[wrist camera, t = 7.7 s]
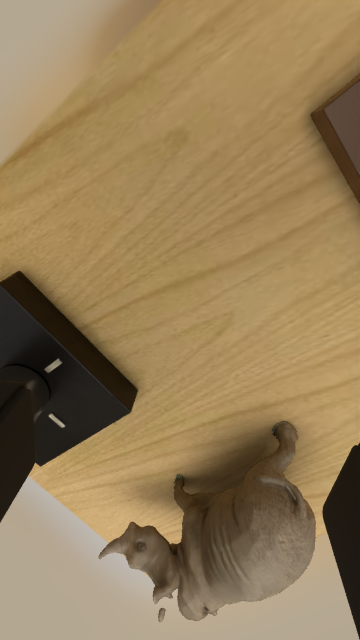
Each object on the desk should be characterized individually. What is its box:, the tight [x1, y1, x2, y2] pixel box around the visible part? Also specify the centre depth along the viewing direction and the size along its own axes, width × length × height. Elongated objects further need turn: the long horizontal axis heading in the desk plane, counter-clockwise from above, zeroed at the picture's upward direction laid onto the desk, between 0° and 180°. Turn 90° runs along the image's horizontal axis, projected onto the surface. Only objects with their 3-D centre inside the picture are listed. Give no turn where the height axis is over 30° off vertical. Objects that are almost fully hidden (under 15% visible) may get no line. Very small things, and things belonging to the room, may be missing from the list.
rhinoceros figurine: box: [99, 422, 316, 622], centre depth 25 cm, size 8×14×15 cm
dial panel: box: [0, 271, 138, 466], centre depth 24 cm, size 12×10×3 cm
